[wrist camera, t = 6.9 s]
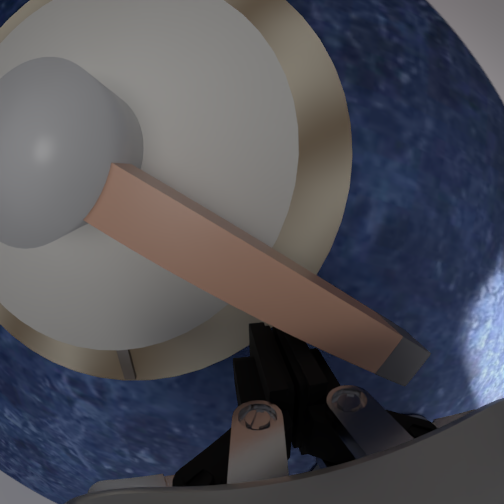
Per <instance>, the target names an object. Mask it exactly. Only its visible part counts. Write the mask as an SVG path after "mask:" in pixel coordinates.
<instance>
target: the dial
mask: <svg viewBox="0 0 504 504" xmlns="http://www.w3.org/2000/svg"><path fill="white" fill-rule="evenodd" d="M298 158H299V142H298V123H297V117H296V111H295V105H294V100H293V97H292V93H291V90H290V87H289V84H288V81H287V78H286V75H285V73H284V71H283V69H282V67H281V65H280V63H279V61H278V59H277V57H276V55H275V53H274V51H273V50H272V48H271V47H270V45H269V44H268V43H267V41H266V40H265V38H264V37H263V36H262V34H261V33H260V31H259V30H258V29H257V28H256V27H255V26H254V25H253V24H252V23H251V22H250V21H249V20H248V19H247V18H246V17H245V16H244V15H243V14H242V13H240V12H239V11H238V10H236V9H235V8H234V7H232V6H231V5H230V4H228V3H227V2H226V1H224V0H52V1H51V2H49V3H47V4H45V5H44V6H42V7H41V8H40V9H38V10H37V11H35V12H34V13H33V14H31V15H30V16H28V17H27V18H26V19H25V20H24V21H22V22H21V23H20V24H19V25H18V26H17V27H16V28H15V29H14V30H13V31H11V32H10V33H9V34H8V36H7V37H6V38H5V39H4V40H3V41H2V42H1V43H0V303H1V304H2V305H3V306H4V307H5V308H6V309H7V310H8V311H9V312H11V313H12V314H13V315H14V316H15V317H17V318H18V319H19V320H20V321H22V322H23V323H25V324H26V325H28V326H30V327H31V328H33V329H34V330H36V331H38V332H40V333H42V334H44V335H46V336H48V337H50V338H52V339H55V340H57V341H60V342H63V343H67V344H70V345H73V346H77V347H82V348H89V349H95V350H127V349H136V348H143V347H147V346H151V345H154V344H158V343H162V342H165V341H168V340H170V339H172V338H175V337H177V336H180V335H182V334H184V333H187V332H188V331H190V330H192V329H193V328H195V327H197V326H199V325H200V324H202V323H204V322H205V321H207V320H209V319H210V318H211V317H212V316H214V315H215V314H216V313H218V312H219V311H220V310H221V309H223V308H224V307H225V306H226V305H228V304H230V305H232V306H234V307H236V308H238V309H240V310H242V311H244V312H246V313H248V314H250V315H252V316H254V317H256V318H257V319H259V320H261V321H263V322H265V323H267V324H269V325H271V326H273V327H275V328H278V329H280V330H282V331H284V332H286V333H288V334H290V335H292V336H294V337H296V338H298V339H300V340H302V341H304V342H306V343H309V344H311V345H313V346H315V347H317V348H319V349H321V350H323V351H326V352H328V353H330V354H332V355H334V356H336V357H339V358H341V359H343V360H345V361H348V362H350V363H352V364H354V365H357V366H359V367H361V368H363V369H366V370H368V371H370V372H373V373H375V374H376V375H379V376H381V377H383V378H386V379H388V380H390V381H393V382H395V383H398V384H400V385H403V386H406V385H407V384H408V382H409V381H410V380H411V379H412V378H413V376H414V375H415V374H416V373H417V371H418V370H419V369H420V368H421V366H422V365H423V364H424V362H425V361H426V360H427V358H428V357H429V356H430V354H431V353H430V352H429V351H428V350H427V349H425V348H424V347H423V346H422V345H421V344H420V343H419V342H418V341H416V340H415V339H414V338H413V337H412V336H411V335H410V334H409V333H407V332H406V331H405V330H404V329H402V328H401V327H399V326H397V325H396V324H394V323H393V322H391V321H390V320H388V319H386V318H385V317H383V316H382V315H380V314H378V313H377V312H375V311H373V310H372V309H370V308H368V307H367V306H365V305H364V304H362V303H360V302H359V301H357V300H356V299H354V298H352V297H351V296H349V295H348V294H346V293H344V292H343V291H341V290H340V289H338V288H336V287H335V286H333V285H331V284H330V283H328V282H327V281H325V280H323V279H322V278H320V277H319V276H317V275H315V274H314V273H312V272H310V271H309V270H307V269H306V268H304V267H302V266H301V265H299V264H297V263H296V262H294V261H293V260H291V259H289V258H288V257H286V256H284V255H283V254H281V253H279V252H278V251H276V250H275V249H273V248H272V247H273V245H274V244H275V242H276V240H277V238H278V236H279V233H280V231H281V228H282V226H283V223H284V221H285V218H286V216H287V214H288V211H289V207H290V203H291V199H292V195H293V191H294V187H295V183H296V175H297V166H298Z"/></svg>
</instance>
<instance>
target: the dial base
mask: <svg viewBox="0 0 504 504" xmlns="http://www.w3.org/2000/svg"><path fill="white" fill-rule="evenodd" d="M51 1H52V0H30V1H28V2H27V3H26V4H25V5H24V6H23V7H21V8H20V9H19V10H18V11H17V12H16V13H15V14H14V15H13V16H12V17H11V18H9V19H8V20H7V21H6V23H5V24H4V25H3V26H2V27H1V28H0V43H1V42H2V41H3V40H4V39H5V38H6V37H7V36H8V34H9V33H10V32H11V31H13V30H14V29H15V28H16V27H17V26H18V25H19V24H20V23H21V22H22V21H24V20H25V19H26V18H27V17H28V16H30V15H31V14H33V13H34V12H35V11H37V10H38V9H40V8H41V7H42V6H44V5H45V4H47V3H49V2H51ZM224 1H226V2H227V3H228V4H230V5H231V6H232V7H234V8H235V9H236V10H238V11H239V12H240V13H242V14H243V15H244V16H245V17H246V18H247V19H248V20H249V21H250V22H251V23H252V24H253V25H254V26H255V27H256V28H257V29H258V30H259V31H260V33H261V34H262V36H263V37H264V38H265V40H266V41H267V43H268V44H269V45H270V47H271V48H272V50H273V51H274V53H275V55H276V57H277V59H278V61H279V63H280V65H281V67H282V69H283V71H284V73H285V75H286V78H287V81H288V84H289V87H290V90H291V93H292V97H293V100H294V105H295V111H296V117H297V123H298V142H299V158H298V166H297V175H296V183H295V187H294V191H293V195H292V199H291V203H290V207H289V211H288V214H287V216H286V218H285V221H284V223H283V226H282V228H281V231H280V233H279V236H278V238H277V240H276V242H275V244H274V245H273V247H272V248H273V249H275V250H276V251H278V252H279V253H281V254H283V255H284V256H286V257H288V258H289V259H291V260H293V261H294V262H296V263H297V264H299V265H301V266H302V267H304V268H306V269H307V270H309V271H310V272H312V273H314V274H315V275H317V273H318V271H319V270H320V268H321V266H322V264H323V262H324V260H325V259H326V257H327V255H328V253H329V251H330V249H331V247H332V244H333V242H334V239H335V237H336V234H337V231H338V229H339V226H340V223H341V221H342V217H343V213H344V209H345V205H346V201H347V196H348V192H349V186H350V176H351V166H352V140H351V124H350V119H349V114H348V109H347V104H346V99H345V94H344V91H343V89H342V86H341V83H340V80H339V77H338V75H337V72H336V69H335V67H334V65H333V63H332V61H331V59H330V57H329V55H328V53H327V51H326V50H325V48H324V46H323V44H322V42H321V41H320V39H319V38H318V36H317V35H316V34H315V32H314V31H313V30H312V28H311V27H310V26H309V24H308V23H307V22H306V21H305V19H304V18H303V17H302V16H301V15H300V14H299V13H298V12H297V11H296V10H295V9H294V8H293V7H292V6H291V5H290V4H289V3H288V2H287V1H286V0H224ZM260 322H263V321H261V320H259V319H257V318H256V317H254V316H252V315H250V314H248V313H246V312H244V311H242V310H240V309H238V308H236V307H234V306H232V305H230V304H228V305H226V306H225V307H224V308H223V309H221V310H220V311H219V312H218V313H216V314H215V315H214V316H212V317H211V318H210V319H209V320H207V321H205V322H204V323H202V324H200V325H199V326H197V327H195V328H193V329H192V330H190V331H188V332H187V333H184V334H182V335H180V336H177V337H175V338H172V339H170V340H168V341H165V342H162V343H158V344H154V345H151V346H147V347H143V348H136V349H127V350H95V349H89V348H82V347H77V346H73V345H70V344H67V343H63V342H60V341H57V340H55V339H52V338H50V337H48V336H46V335H44V334H42V333H40V332H38V331H36V330H34V329H33V328H31V327H30V326H28V325H26V324H25V323H23V322H22V321H20V320H19V319H18V318H17V317H15V316H14V315H13V314H12V313H11V312H9V311H8V310H7V309H6V308H5V307H4V306H3V305H2V304H1V303H0V324H1V325H2V326H3V327H4V328H5V329H6V330H7V331H8V332H9V333H10V334H11V335H12V336H14V337H15V338H16V339H18V340H19V341H20V342H22V343H23V344H24V345H26V346H27V347H28V348H30V349H31V350H33V351H34V352H36V353H38V354H40V355H41V356H43V357H45V358H47V359H49V360H50V361H52V362H54V363H57V364H59V365H62V366H64V367H67V368H69V369H72V370H74V371H77V372H81V373H85V374H89V375H92V376H96V377H102V378H109V379H118V380H153V379H161V378H168V377H174V376H179V375H182V374H186V373H189V372H193V371H196V370H200V369H203V368H205V367H207V366H210V365H212V364H214V363H217V362H219V361H221V360H224V359H226V358H228V357H230V356H231V355H233V354H235V353H236V352H238V351H240V350H241V349H243V348H245V347H246V346H248V345H249V324H250V323H260ZM264 325H265V326H267V325H269V324H267V323H265V322H264ZM269 326H270V328H272V327H273V326H271V325H269Z"/></svg>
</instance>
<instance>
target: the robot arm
mask: <svg viewBox="0 0 504 504" xmlns="http://www.w3.org/2000/svg"><path fill="white" fill-rule="evenodd" d="M249 346H250V357H242V358H233V368H234V379H235V388H236V395H237V401H238V407H237V408H236V410H235V411H234V413H233V416H232V427H231V428H230V429H229V430H228V431H227V432H226V433H225V434H223V435H222V436H221V437H220V438H219V439H217V440H216V441H215V442H214V443H212V444H211V445H210V446H209V447H208V448H206V449H205V450H204V451H203V452H201V453H200V454H199V455H197V456H196V457H195V458H194V459H192V460H191V461H190V462H188V463H187V464H186V465H184V466H183V467H182V468H180V469H179V470H178V471H177V472H176V473H175V475H171V476H165V477H164V475H163V474H158V475H152V476H145V477H137V478H128V479H117V480H105V481H100V482H97V483H96V484H94V485H92V486H91V488H90V489H89V491H88V494H84V495H81V496H78V497H75V498H73V499H71V500H69V501H67V502H66V503H65V504H504V398H502V399H499V400H496V401H494V402H491V403H489V404H487V405H484V406H482V407H480V408H478V409H476V410H470V411H467V412H463V413H459V414H455V415H451V416H447V417H443V418H438V419H434V420H433V422H432V423H431V422H430V421H428V420H427V419H426V418H424V417H422V416H418V415H404V414H400V413H396V412H392V411H388V410H385V409H384V408H383V407H382V406H381V405H380V404H379V403H378V402H377V401H376V400H375V399H374V398H373V397H372V396H371V395H370V394H369V393H368V392H367V391H366V390H364V389H363V388H360V387H358V386H352V385H344V386H340V384H339V382H338V381H337V379H336V377H335V376H334V374H333V373H332V371H331V369H330V368H329V366H328V364H327V363H326V361H325V359H324V358H323V356H322V355H321V353H320V351H319V350H318V349H317V348H314V349H309V347H308V346H307V344H306V342H304V341H302V340H300V339H298V338H296V337H294V336H292V335H290V334H288V333H286V332H284V331H282V330H280V329H278V328H275V327H272V330H271V328H270V326H269V325H267V326H265V325H264V322H260V323H250V324H249ZM291 442H292V445H293V447H294V448H298V447H299V450H300V452H301V455H305V454H310V455H312V456H315V457H316V462H317V466H316V467H315V468H314V469H313V470H312V471H310V472H305V473H301V474H296V475H291V476H289V473H288V463H287V460H288V459H289V458H290V449H291Z"/></svg>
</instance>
